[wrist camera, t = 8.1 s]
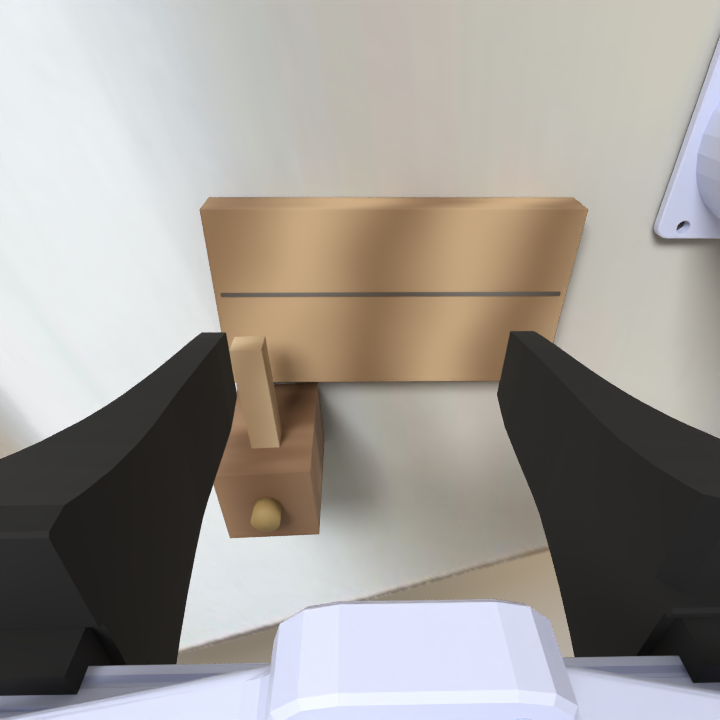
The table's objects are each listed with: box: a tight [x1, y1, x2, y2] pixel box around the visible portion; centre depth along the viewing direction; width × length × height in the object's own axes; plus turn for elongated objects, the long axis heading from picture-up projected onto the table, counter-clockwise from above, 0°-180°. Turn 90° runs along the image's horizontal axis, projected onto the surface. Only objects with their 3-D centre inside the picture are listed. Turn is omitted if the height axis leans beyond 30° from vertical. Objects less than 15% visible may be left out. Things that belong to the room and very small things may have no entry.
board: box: [200, 197, 588, 382], centre depth 21 cm, size 14×8×2 cm, turn 90°
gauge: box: [214, 336, 324, 538], centre depth 22 cm, size 4×9×7 cm, turn 3°
